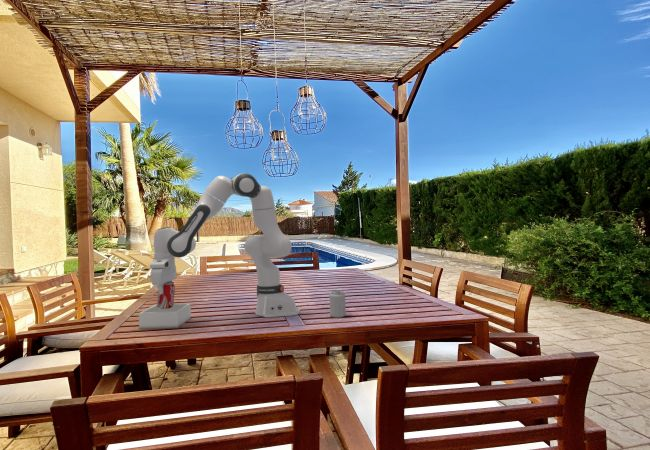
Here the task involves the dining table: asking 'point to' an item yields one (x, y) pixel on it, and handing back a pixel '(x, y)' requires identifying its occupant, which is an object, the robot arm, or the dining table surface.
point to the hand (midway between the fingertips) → (165, 292)
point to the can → (337, 304)
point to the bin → (164, 316)
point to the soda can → (166, 296)
